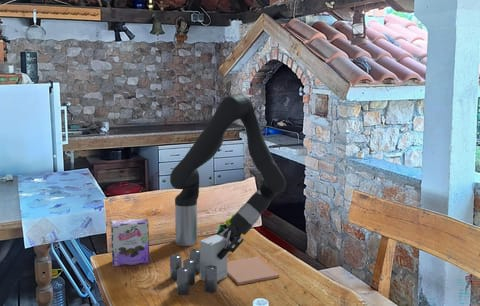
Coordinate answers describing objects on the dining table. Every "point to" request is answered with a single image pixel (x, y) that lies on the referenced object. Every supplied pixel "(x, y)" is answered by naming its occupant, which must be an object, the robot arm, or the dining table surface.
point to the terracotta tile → (250, 270)
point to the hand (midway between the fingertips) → (214, 253)
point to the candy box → (130, 242)
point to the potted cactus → (226, 223)
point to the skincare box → (213, 256)
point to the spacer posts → (191, 272)
